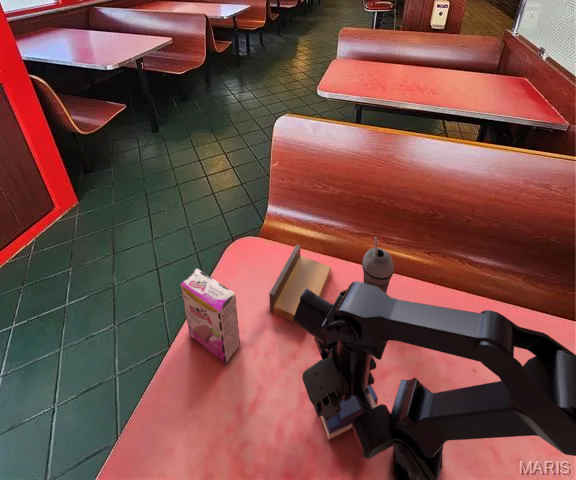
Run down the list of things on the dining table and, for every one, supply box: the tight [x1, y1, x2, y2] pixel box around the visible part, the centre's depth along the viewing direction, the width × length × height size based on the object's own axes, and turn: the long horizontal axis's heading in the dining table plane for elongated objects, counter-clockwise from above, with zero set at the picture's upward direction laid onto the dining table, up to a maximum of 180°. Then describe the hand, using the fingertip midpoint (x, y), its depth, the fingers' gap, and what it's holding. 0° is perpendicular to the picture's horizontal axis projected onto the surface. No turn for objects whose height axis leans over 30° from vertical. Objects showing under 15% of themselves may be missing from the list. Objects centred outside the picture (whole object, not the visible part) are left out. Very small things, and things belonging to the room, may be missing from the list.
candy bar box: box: [179, 268, 241, 365], centre depth 69 cm, size 11×5×16 cm, turn 58°
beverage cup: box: [361, 236, 395, 294], centre depth 77 cm, size 7×7×20 cm
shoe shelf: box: [268, 244, 332, 322], centre depth 82 cm, size 10×16×6 cm, turn 155°
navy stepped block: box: [319, 384, 379, 440], centre depth 60 cm, size 10×4×5 cm, turn 110°
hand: (348, 406), depth 60 cm, fingers open, 9 cm apart
